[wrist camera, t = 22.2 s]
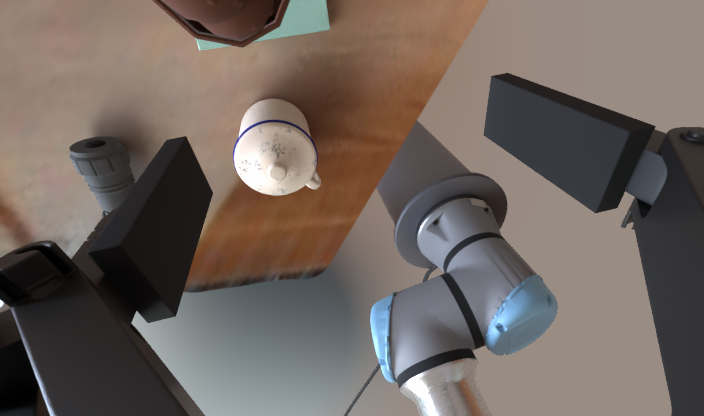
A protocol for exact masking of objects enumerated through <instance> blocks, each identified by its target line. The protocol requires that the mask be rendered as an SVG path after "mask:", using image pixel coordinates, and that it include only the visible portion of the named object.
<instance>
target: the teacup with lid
mask: <svg viewBox="0 0 704 416" xmlns="http://www.w3.org/2000/svg"><path fill="white" fill-rule="evenodd" d="M233 161H234V165H235V168H236V170H237V172H238V174H239V176H240V177H241V179H242V180H243V181H244V182H245V183H246V184H247V185H248V186H250V187H251V188H253V189H255V190H256V191H259V192H261V193H264V194H269V195H285V194H289V193H292V192H295V191H297V190H299V189H300V188H302V187H303V186H305V185H307V186H308V187H310V188H312V189H317V188H318V187H319V186H320V185H321V180H320V177H319V175H318V173H317V172H316V167H317V161H318V156H317V150H316V147H315V144H314V142H313V140H312V139H311V135H310V131H309V128H308V124H307V121H306V119H305V117H304V115H303V114H302V112H301V111H300V110H299V109H298V108H297V107H296V106H294V105H293V104H291V103H289V102H287V101H285V100H281V99H265V100H262V101H259V102H257V103H255V104H254V105H252V106H251V107H250V108H249V109H248V110H247V112H246V113H245V115H244V117H243V119H242V123H241V128H240V133H239V138H238V139H237V141H236V144H235V147H234V151H233Z"/></svg>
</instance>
